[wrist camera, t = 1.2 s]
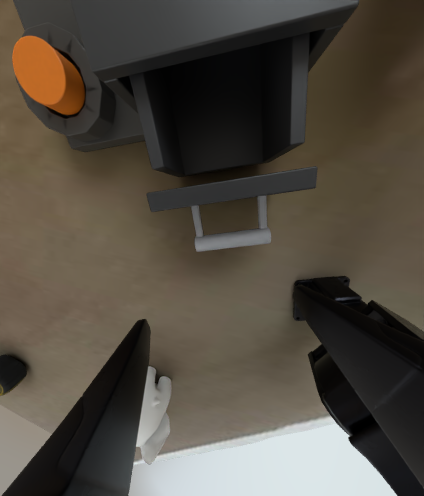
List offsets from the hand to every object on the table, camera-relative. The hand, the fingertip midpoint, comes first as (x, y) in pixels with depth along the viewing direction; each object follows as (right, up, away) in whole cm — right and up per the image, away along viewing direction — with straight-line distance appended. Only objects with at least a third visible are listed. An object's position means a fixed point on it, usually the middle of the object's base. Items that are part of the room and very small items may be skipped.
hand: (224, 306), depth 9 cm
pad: (-11, +19, +5) cm, 23 cm away
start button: (-12, +16, +3) cm, 21 cm away
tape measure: (-39, -18, +21) cm, 48 cm away
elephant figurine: (-13, -22, +21) cm, 32 cm away
